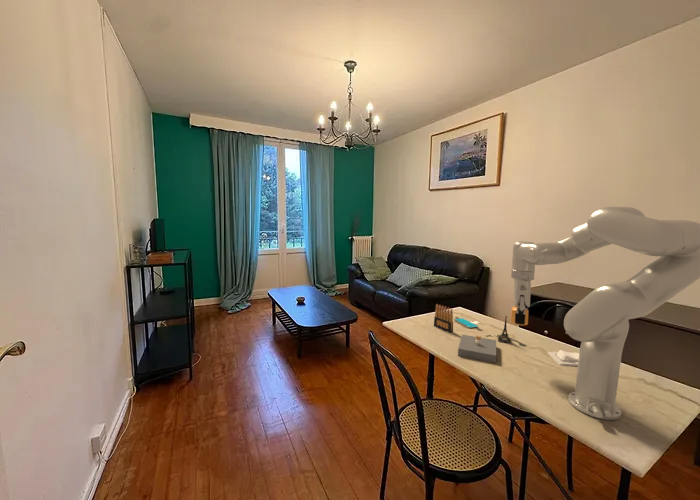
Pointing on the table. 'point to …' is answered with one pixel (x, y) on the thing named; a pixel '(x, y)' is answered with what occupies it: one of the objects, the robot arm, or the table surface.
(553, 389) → the table surface
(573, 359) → the light switch
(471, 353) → the box
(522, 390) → the table surface
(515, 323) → the orange wooden cylinder
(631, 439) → the table surface
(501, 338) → the eiffel tower figurine
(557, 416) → the table surface
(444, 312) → the ammunition clip
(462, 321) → the cyan flat board
